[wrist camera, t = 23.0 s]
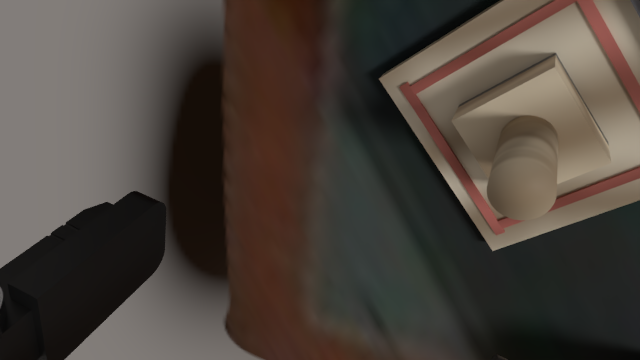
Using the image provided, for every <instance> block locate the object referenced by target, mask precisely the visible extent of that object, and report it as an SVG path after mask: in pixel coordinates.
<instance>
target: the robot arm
mask: <svg viewBox="0 0 640 360" xmlns="http://www.w3.org/2000/svg"><path fill="white" fill-rule="evenodd" d="M165 227H166V206H165V204H164V203H162V202H160V201H157V200H155V199H153V198H151V197H149V196H146V195H144V194H142V193H140V192H137V191H133V192H130V193H129V194H127V195H126V196H125V197H123V198H122V199H120V200H119V201H118V202H116V203H115V204H114V205H113V204H111V203H108V202H105V203H103V204H99V205H97V206H94V207H91V208H88V209H85V210H83V211H82V212H80V213H79V214H77V215H76V216H75V217H73V218H72V219H70V220H69V221H67V222H66V225H64V226H63V225H62V226H60V227H59V228H57V229H56V230H55V231H53V232H52V233H51V235H50V236H46V237H45V238H43V239H42V240H40V241H39V242H38V243H36V244H35V245H33V246H32V247H31V248H29V249H28V250H26V251H25V252H23V253H22V254H20V255H19V256H18V257H16V258H15V259H13V260H12V261H10V262H9V263H8V264H6V265H5V266H3V267H2V268H1V269H0V360H64V359H65V358H66V357H67V356H68V355H70V354H71V352H73V351H74V350H75V349H76V348H77V347H78V346H79V345H80V344H81V343H82V342H83V341H84V340H85V339H86V338H87V337H88V336H89V335H90V334H91V333H92V332H93V331H94V330H95V329H96V328H97V327H98V326H100V324H102V323H103V322H104V321H105V320H106V319H107V318H108V317H109V316H110V315H111V314H112V313H113V312H114V311H115V310H116V309H117V308H118V307H119V306H120V305H121V304H122V303H123V302H124V301H125V300H126V299H127V298H128V297H130V296H131V295H132V294H133V293H134V292H135V291H136V290H137V289H138V288H139V287H140V286H141V285H142V284H143V283H144V282H145V281H146V280H147V279H148V278H149V277H150V276H151V275H152V274H153V273H154V272H155V271H156V269H157V268H158V266H159V265H160V263H161V261H162V258H163V256H164V251H165V229H166V228H165ZM491 360H508V359H506V358H504V357H501V356H499V355H497V354H495V355H494V356H493V357H492V359H491Z"/></svg>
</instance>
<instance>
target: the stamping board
mask: <svg viewBox="0 0 640 360" xmlns="http://www.w3.org/2000/svg"><path fill="white" fill-rule="evenodd" d="M554 53H556V54H557V55H558V57H559V59H560V61H561V62H562V64H563V66H564V67H565V69H566V71H567V72H568V74H569V76H570V78H571V79H572V81H573V83H574V84H575V86H576V88H577V90H578V91H579V93H580V95H581V96H582V98H583V100H584V102H585V103H586V105H587V107H588V108H589V110H590V112H591V114H592V115H593V117H594V119H595V120H596V122H597V124H598V126H599V127H600V129H601V131H602V132H603V134H604V136H605V137H606V139H607V141H608V144H609V151H610V157H611V163H610V164H607V165H605V166H602V167H600V168H597V169H595V170H592V171H590V172H587V173H585V174H582V175H580V176H577V177H574V178H572V179H569V180H567V181H564V182H562V183H559V184H557V195H556V200H555V203H554V205H553V206H552V208H551V209H550V210H549V211H548V212H547V213H545V214H544V215H542V216H540V217H538V218H535V219H531V220H515V219H511V218H508V217H506V216H503V215H502V214H500V213H499V212H498V211H496V210H495V209H494V208H493V206H492V205H491V204H490V202H489V200H488V197H487V184H488V180H489V179H488V177H487V176H486V174H485V172H484V171H483V169H482V168H481V166H480V165H479V163H478V162H477V160H476V159H475V157H474V155H473V154H472V152H471V151H470V149H469V148H468V146H467V145H466V143H465V142H464V140H463V138H462V137H461V135H460V134H459V132H458V131H457V129H456V128H455V126H454V125H453V123H452V119H453V117H454V115H455V113H456V111H457V108H458V106H459V105H460V104H462V103H463V102H465V101H467V100H469V99H471V98H473V97H475V96H476V95H478V94H480V93H482V92H484V91H486V90H488V89H489V88H491V87H493V86H495V85H497V84H499V83H501V82H502V81H504V80H506V79H508V78H510V77H512V76H513V75H515V74H517V73H519V72H521V71H523V70H525V69H526V68H528V67H530V66H532V65H534V64H536V63H538V62H539V61H541V60H543V59H545V58H547V57H549V56H551V55H552V54H554ZM379 80H380V81H381V83H382V84H383V86H384V87H385V89H386V91H387V92H388V94H389V95H390V97H391V98H392V100H393V101H394V103H395V104H396V106H397V107H398V109H399V110H400V112H401V113H402V115H403V116H404V118H405V119H406V121H407V122H408V124H409V125H410V127H411V128H412V130H413V131H414V133H415V134H416V136H417V137H418V139H419V140H420V142H421V143H422V145H423V146H424V148H425V149H426V151H427V152H428V154H429V155H430V157H431V158H432V160H433V162H434V163H435V165H436V166H437V168H438V169H439V171H440V172H441V174H442V175H443V177H444V178H445V180H446V181H447V183H448V184H449V186H450V187H451V189H452V190H453V192H454V193H455V195H456V196H457V198H458V199H459V201H460V202H461V204H462V205H463V207H464V208H465V210H466V211H467V213H468V214H469V216H470V217H471V219H472V220H473V222H474V223H475V225H476V226H477V228H478V230H479V231H480V233H481V234H482V236H483V237H484V239H485V240H486V242H487V243H488V245H489V246H490V248H491V249H492V251H494V250H497V249H500V248H503V247H505V246H508V245H511V244H514V243H517V242H520V241H523V240H526V239H529V238H531V237H534V236H537V235H540V234H543V233H546V232H549V231H552V230H555V229H557V228H560V227H563V226H566V225H569V224H572V223H575V222H578V221H581V220H583V219H586V218H589V217H592V216H595V215H598V214H601V213H604V212H607V211H609V210H612V209H615V208H618V207H621V206H624V205H627V204H630V203H633V202H635V201H638V200H640V17H639V15H638V14H637V12H636V10H635V8H634V6H633V4H632V2H631V1H630V0H500V1H498V2H497V3H495V4H494V5H492V6H490V7H489V8H487V9H486V10H484V11H482V12H481V13H479V14H478V15H476V16H475V17H473V18H471V19H470V20H468V21H467V22H465V23H463V24H462V25H460V26H459V27H457V28H455V29H454V30H452V31H451V32H449V33H448V34H446V35H444V36H443V37H441V38H440V39H438V40H436V41H435V42H433V43H432V44H430V45H429V46H427V47H425V48H424V49H422V50H421V51H419V52H417V53H416V54H414V55H413V56H411V57H409V58H408V59H406V60H405V61H403V62H402V63H400V64H398V65H397V66H395V67H394V68H392V69H390V70H389V71H387V72H386V73H384V74H383V75H382V76H381V77H380V78H379Z"/></svg>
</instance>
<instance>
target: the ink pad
mask: <svg viewBox="0 0 640 360" xmlns="http://www.w3.org/2000/svg"><path fill="white" fill-rule="evenodd" d="M630 1H631V2H632V4H633V6H634V8H635V10H636V12H637V14H638V15H639V17H640V0H630Z"/></svg>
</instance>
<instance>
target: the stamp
mask: <svg viewBox="0 0 640 360" xmlns="http://www.w3.org/2000/svg"><path fill="white" fill-rule="evenodd" d="M452 123H453V125H454V126H455V128H456V129H457V131H458V132H459V134H460V135H461V137H462V138H463V140H464V142H465V143H466V145H467V146H468V148H469V149H470V151H471V152H472V154H473V155H474V157H475V159H476V160H477V162H478V163H479V165H480V166H481V168H482V169H483V171H484V172H485V174H486V176H487V177H488V179H489V180H488V184H487V197H488V200H489V202H490V204H491V205H492V206H493V208H494V209H495V210H496V211H498V212H499V213H500V214H502V215H503V216H506V217H508V218H511V219H515V220H531V219H535V218H538V217H540V216H542V215H544V214H545V213H547V212H548V211H549V210H550V209H551V208H552V206H553V205H554V203H555V200H556V195H557V184H559V183H562V182H564V181H567V180H569V179H572V178H574V177H577V176H580V175H582V174H585V173H587V172H590V171H592V170H595V169H597V168H600V167H602V166H605V165H607V164H610V163H611V157H610V151H609V144H608V141H607V139H606V137H605V136H604V134H603V132H602V131H601V129H600V127H599V126H598V124H597V122H596V120H595V119H594V117H593V115H592V114H591V112H590V110H589V108H588V107H587V105H586V103H585V102H584V100H583V98H582V96H581V95H580V93H579V91H578V90H577V88H576V86H575V84H574V83H573V81H572V79H571V78H570V76H569V74H568V72H567V71H566V69H565V67H564V66H563V64H562V62H561V61H560V59H559V57H558V55H557V54H556V53H554V54H552V55H551V56H549V57H547V58H545V59H543V60H541V61H539V62H538V63H536V64H534V65H532V66H530V67H528V68H526V69H525V70H523V71H521V72H519V73H517V74H515V75H513V76H512V77H510V78H508V79H506V80H504V81H502V82H501V83H499V84H497V85H495V86H493V87H491V88H489V89H488V90H486V91H484V92H482V93H480V94H478V95H476V96H475V97H473V98H471V99H469V100H467V101H465V102H463V103H462V104H460V105H459V106H458V108H457V111H456V113H455V115H454V117H453V119H452Z"/></svg>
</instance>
